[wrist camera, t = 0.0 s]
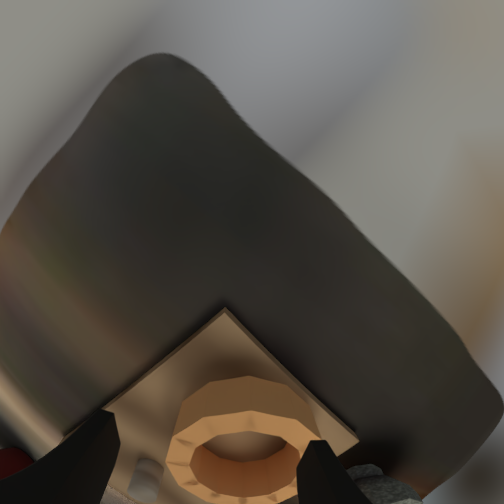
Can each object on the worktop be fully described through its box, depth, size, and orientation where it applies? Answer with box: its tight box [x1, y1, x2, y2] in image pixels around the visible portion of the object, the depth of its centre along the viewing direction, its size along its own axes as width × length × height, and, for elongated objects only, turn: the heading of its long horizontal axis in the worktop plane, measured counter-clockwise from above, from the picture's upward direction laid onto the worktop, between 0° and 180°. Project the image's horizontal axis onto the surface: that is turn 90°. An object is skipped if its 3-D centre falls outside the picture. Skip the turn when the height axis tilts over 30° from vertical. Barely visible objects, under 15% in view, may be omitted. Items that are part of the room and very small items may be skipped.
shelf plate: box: [59, 307, 359, 504], centre depth 18 cm, size 22×16×5 cm
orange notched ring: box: [165, 376, 322, 504], centre depth 17 cm, size 10×10×4 cm
